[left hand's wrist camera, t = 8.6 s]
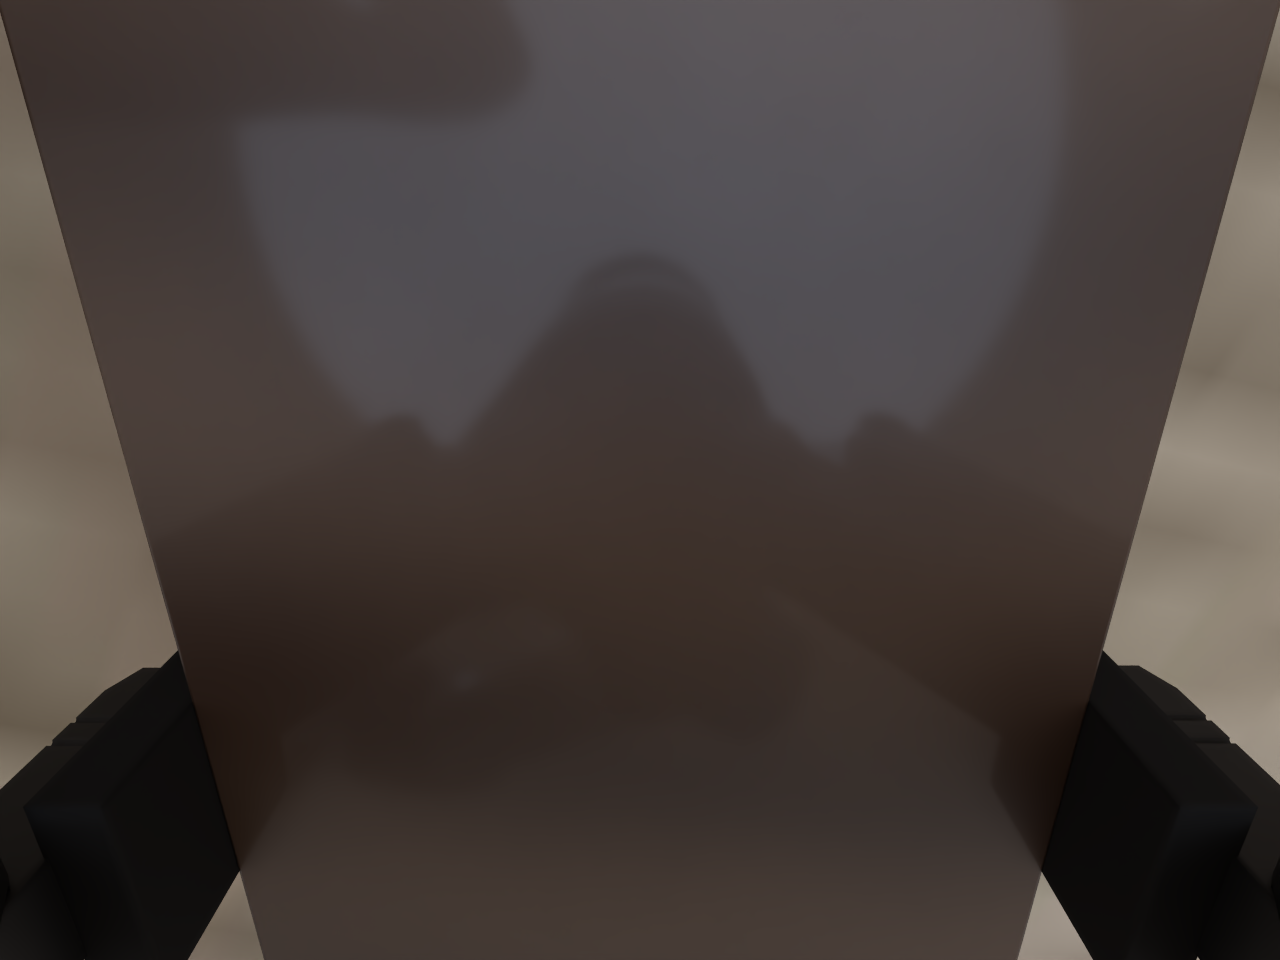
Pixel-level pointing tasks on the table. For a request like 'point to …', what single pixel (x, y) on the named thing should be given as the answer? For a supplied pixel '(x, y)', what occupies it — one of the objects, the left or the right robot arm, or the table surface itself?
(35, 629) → the table surface
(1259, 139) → the table surface
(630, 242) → the small wooden cabinet
